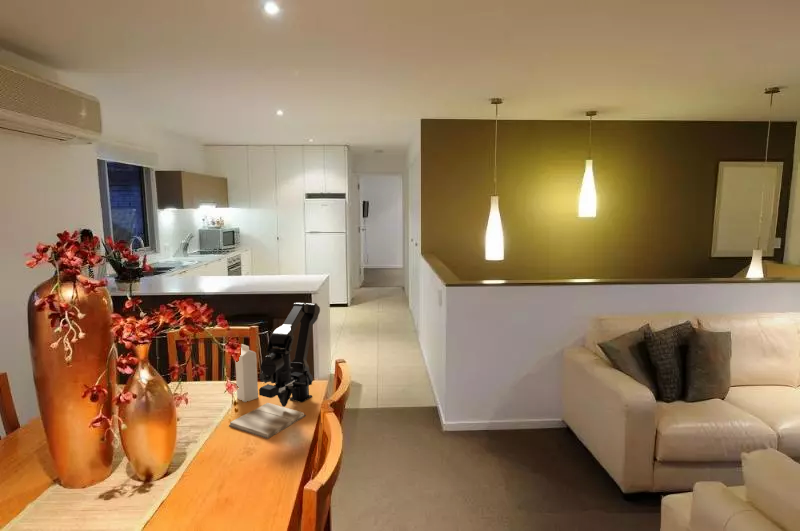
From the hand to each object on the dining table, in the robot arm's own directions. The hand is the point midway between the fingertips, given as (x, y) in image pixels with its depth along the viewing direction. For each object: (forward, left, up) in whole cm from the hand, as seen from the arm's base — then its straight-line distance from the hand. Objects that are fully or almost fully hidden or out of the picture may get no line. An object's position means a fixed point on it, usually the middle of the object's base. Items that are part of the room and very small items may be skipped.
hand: (284, 406), depth 169 cm
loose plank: (+1, -1, -3) cm, 3 cm away
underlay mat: (+7, -1, -3) cm, 8 cm away
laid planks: (+10, -1, -3) cm, 11 cm away
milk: (-4, -23, -3) cm, 23 cm away
